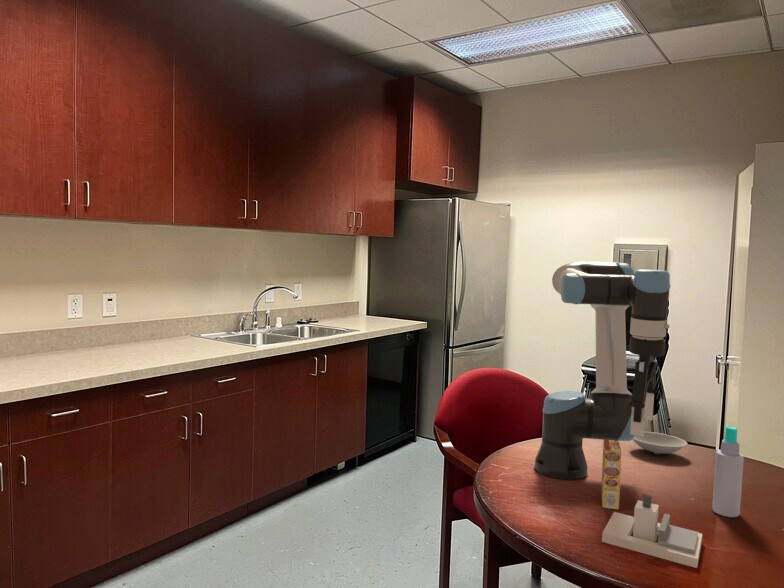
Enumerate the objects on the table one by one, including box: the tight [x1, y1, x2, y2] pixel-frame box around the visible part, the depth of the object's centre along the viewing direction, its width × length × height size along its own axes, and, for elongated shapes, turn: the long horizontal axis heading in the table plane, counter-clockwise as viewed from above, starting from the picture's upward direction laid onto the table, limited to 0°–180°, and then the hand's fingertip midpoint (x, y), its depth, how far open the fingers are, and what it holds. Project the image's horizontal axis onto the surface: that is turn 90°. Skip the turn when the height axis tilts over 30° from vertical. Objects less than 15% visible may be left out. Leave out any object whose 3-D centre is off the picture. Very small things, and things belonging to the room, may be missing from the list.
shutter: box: [657, 513, 699, 554], centre depth 126 cm, size 7×10×3 cm
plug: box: [632, 493, 660, 543], centre depth 129 cm, size 4×4×10 cm
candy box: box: [601, 440, 622, 510], centre depth 149 cm, size 9×4×15 cm, turn 162°
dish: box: [632, 431, 688, 455], centre depth 188 cm, size 18×14×5 cm
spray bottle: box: [711, 425, 745, 518], centre depth 144 cm, size 6×6×22 cm
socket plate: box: [601, 511, 703, 569], centre depth 129 cm, size 19×13×2 cm
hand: (641, 426), depth 133 cm, fingers open, 13 cm apart
